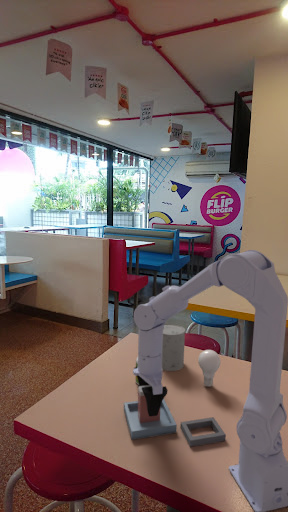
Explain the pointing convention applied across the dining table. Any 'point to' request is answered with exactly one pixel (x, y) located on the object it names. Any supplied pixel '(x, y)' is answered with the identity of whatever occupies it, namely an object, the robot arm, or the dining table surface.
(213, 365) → the lightbulb
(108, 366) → the dining table surface
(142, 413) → the red and grey block
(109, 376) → the dining table surface
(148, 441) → the dining table surface
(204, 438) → the grey rectangular frame
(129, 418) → the parts tray
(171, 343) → the speckled stone cylinder
